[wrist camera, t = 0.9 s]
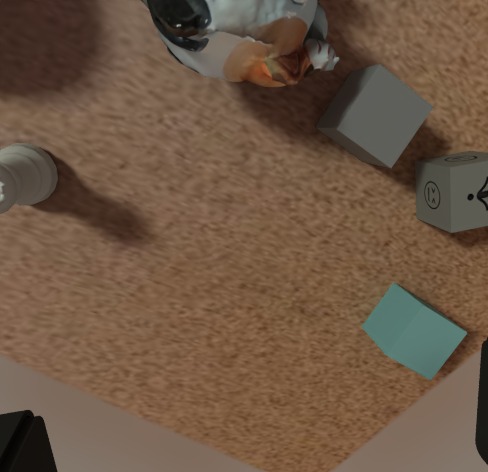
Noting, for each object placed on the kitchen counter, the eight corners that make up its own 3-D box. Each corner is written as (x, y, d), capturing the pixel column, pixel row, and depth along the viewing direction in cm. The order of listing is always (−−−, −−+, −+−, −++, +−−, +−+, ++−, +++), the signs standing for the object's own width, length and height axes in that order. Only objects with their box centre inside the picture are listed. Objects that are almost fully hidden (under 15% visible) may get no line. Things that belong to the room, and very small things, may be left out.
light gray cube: (350, 71, 33) (379, 63, 29) (398, 108, 35) (433, 106, 30) (314, 127, 34) (336, 129, 29) (362, 161, 35) (391, 168, 31)
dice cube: (469, 207, 38) (511, 221, 33) (416, 218, 37) (451, 233, 33) (469, 150, 36) (513, 155, 32) (414, 160, 36) (449, 167, 31)
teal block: (393, 281, 39) (423, 305, 34) (433, 307, 40) (467, 332, 35) (361, 326, 39) (386, 355, 35) (401, 349, 41) (430, 380, 36)
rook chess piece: (29, 129, 31) (-19, 134, 23) (72, 179, 32) (40, 199, 25) (-19, 166, 31) (-83, 182, 24) (25, 214, 33) (-22, 244, 25)
